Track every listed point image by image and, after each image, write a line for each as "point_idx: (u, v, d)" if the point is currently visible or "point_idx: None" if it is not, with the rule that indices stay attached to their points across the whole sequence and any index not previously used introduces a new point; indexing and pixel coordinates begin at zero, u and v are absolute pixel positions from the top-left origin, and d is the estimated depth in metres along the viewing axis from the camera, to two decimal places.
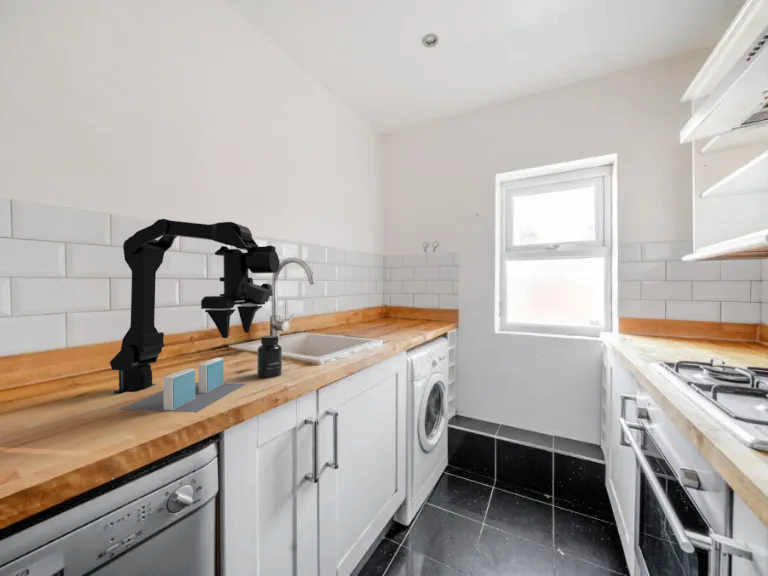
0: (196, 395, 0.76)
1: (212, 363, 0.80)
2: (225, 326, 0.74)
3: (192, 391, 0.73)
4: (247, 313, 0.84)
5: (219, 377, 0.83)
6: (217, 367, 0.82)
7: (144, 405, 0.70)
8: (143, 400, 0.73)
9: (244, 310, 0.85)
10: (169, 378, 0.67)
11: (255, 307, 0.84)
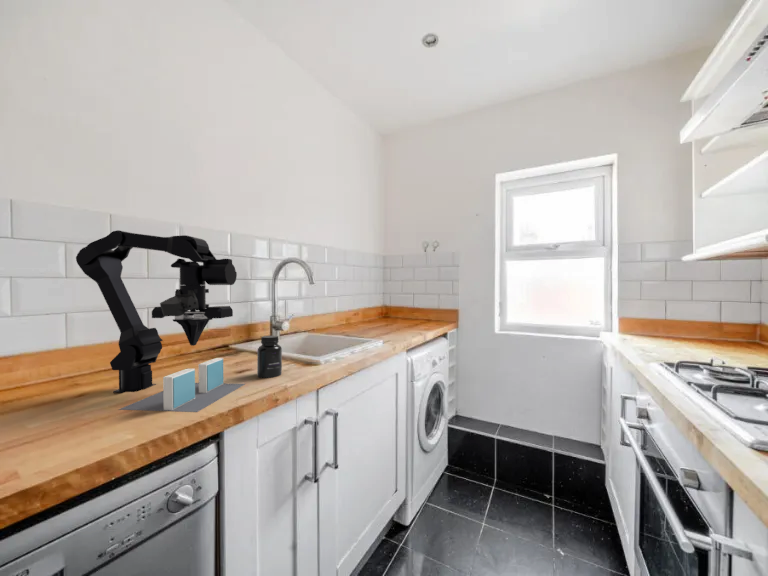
0: (196, 395, 0.76)
1: (212, 363, 0.80)
2: None
3: (192, 391, 0.73)
4: None
5: (219, 377, 0.83)
6: (217, 367, 0.82)
7: (144, 405, 0.70)
8: (143, 400, 0.73)
9: None
10: (169, 378, 0.67)
11: None
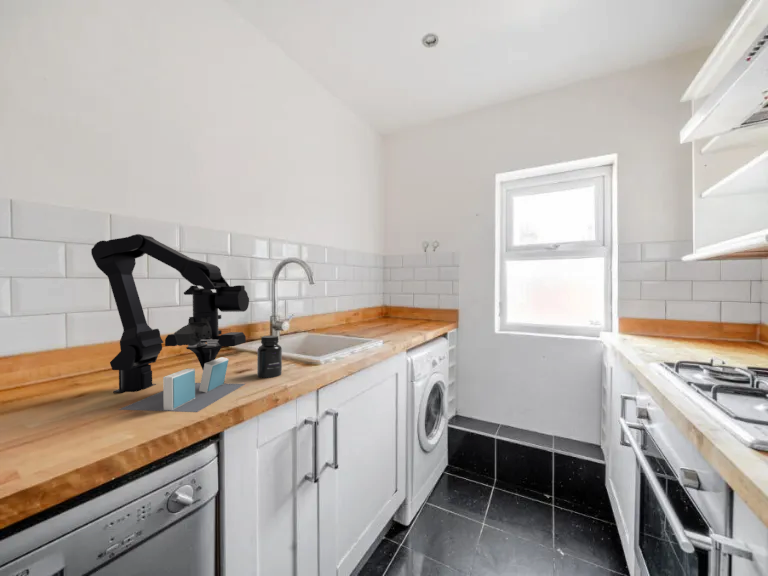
0: (196, 395, 0.76)
1: (218, 364, 0.80)
2: None
3: (192, 391, 0.73)
4: None
5: (221, 377, 0.83)
6: (221, 368, 0.82)
7: (144, 405, 0.70)
8: (143, 400, 0.73)
9: None
10: (169, 378, 0.67)
11: None
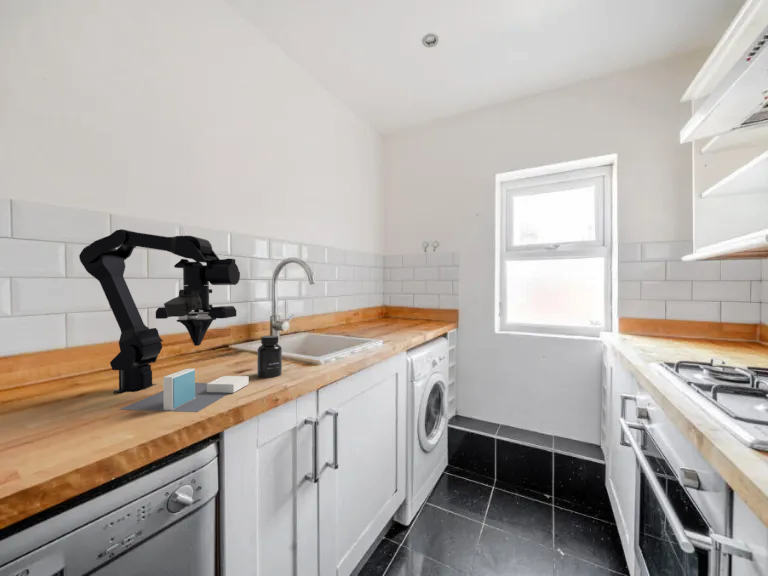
0: (196, 395, 0.76)
1: (237, 389, 0.79)
2: None
3: (192, 391, 0.73)
4: None
5: None
6: None
7: (144, 405, 0.70)
8: (143, 400, 0.73)
9: None
10: (169, 378, 0.67)
11: None
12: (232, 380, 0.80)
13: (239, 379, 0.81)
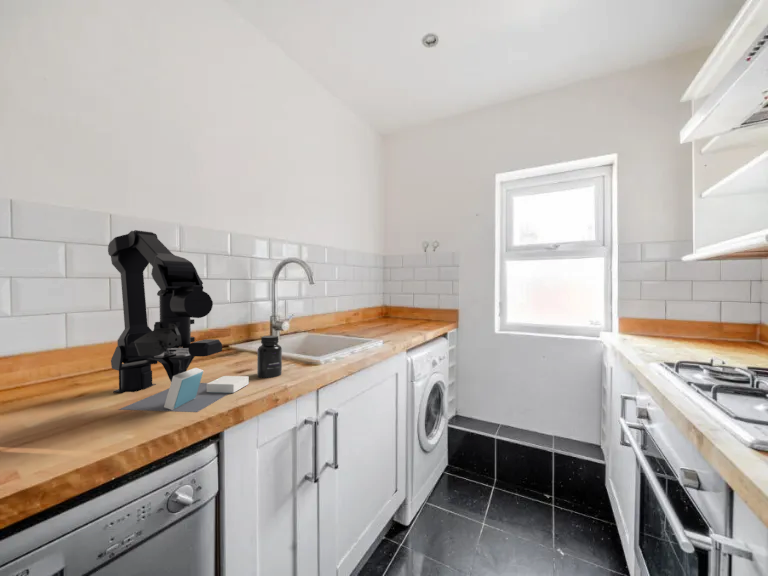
0: (196, 395, 0.76)
1: (237, 389, 0.79)
2: None
3: (195, 391, 0.73)
4: None
5: None
6: None
7: (144, 405, 0.70)
8: (143, 400, 0.73)
9: None
10: (178, 379, 0.67)
11: None
12: (232, 380, 0.80)
13: (239, 379, 0.81)
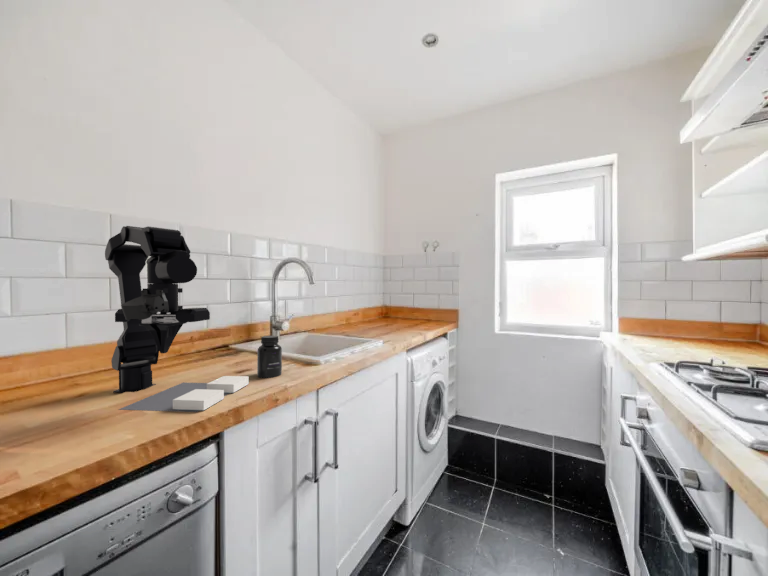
0: None
1: (237, 389, 0.79)
2: None
3: None
4: None
5: None
6: None
7: (144, 405, 0.70)
8: (143, 400, 0.73)
9: None
10: (202, 407, 0.66)
11: None
12: (232, 380, 0.80)
13: (239, 379, 0.81)
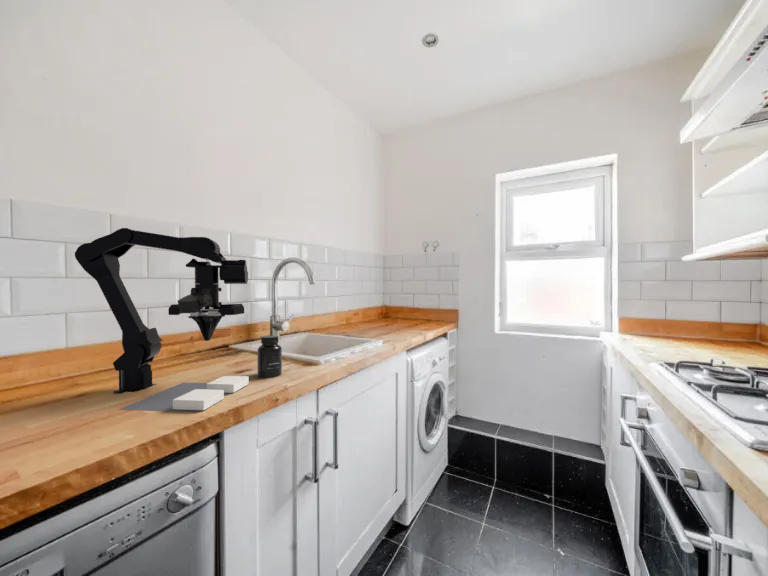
0: None
1: (237, 389, 0.79)
2: None
3: None
4: None
5: None
6: None
7: (144, 405, 0.70)
8: (143, 400, 0.73)
9: None
10: (202, 407, 0.66)
11: None
12: (232, 380, 0.80)
13: (239, 379, 0.81)
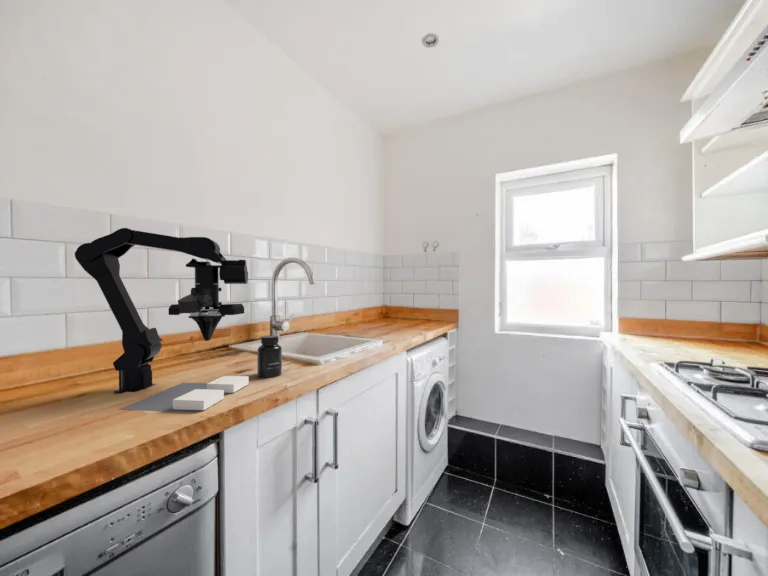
0: None
1: (237, 389, 0.79)
2: None
3: None
4: None
5: None
6: None
7: (144, 405, 0.70)
8: (143, 400, 0.73)
9: None
10: (202, 407, 0.66)
11: None
12: (232, 380, 0.80)
13: (239, 379, 0.81)
